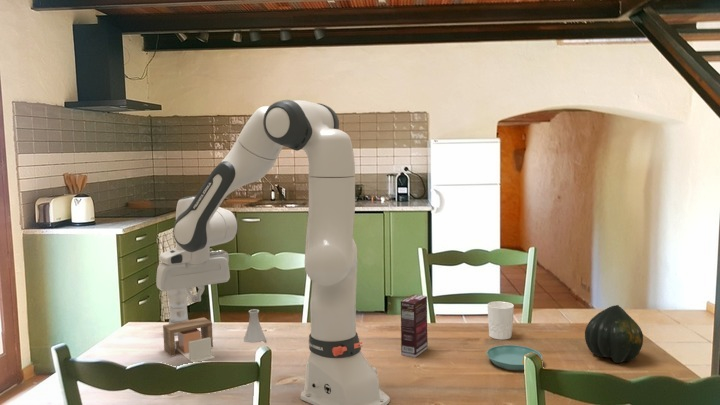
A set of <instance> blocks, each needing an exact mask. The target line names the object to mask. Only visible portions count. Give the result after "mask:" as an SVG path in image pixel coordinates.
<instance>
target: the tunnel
mask: <svg viewBox="0 0 720 405" xmlns="http://www.w3.org/2000/svg"><path fill="white" fill-rule="evenodd" d="M192 329H200V331H201V339H204V338H209V337H210V338H211V348H213V347H214V344H213V343H214V342H213V340H214V339H213V322H212V321H211V320H209V319H207V318H206V317H199V318H193V319H188V321H183V322H177V323H172V324H169V323H167V324H164V325H162V330H163V334H162V335H163V349H164V351H165V352H166V353H167V354H168V355H169V356H170V357H173V356H176V349H175V341H176V339H175V335H174V333H177V332H182V331H187V330H192Z"/></svg>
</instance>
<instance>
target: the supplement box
mask: <svg viewBox="0 0 720 405" xmlns="http://www.w3.org/2000/svg"><path fill="white" fill-rule="evenodd" d="M400 343H401V344H400V346H401V348H400V350H401V355H402V356H406V357H409V358H410V357H411V358H416V357H418V356H419V355H420V354H422V353H423V352H425V351H426V350H427V349H428V346H429V345H428V296H427V295H421V294H412V295H410V296H408V297H406V298H404V299H402V300H400Z"/></svg>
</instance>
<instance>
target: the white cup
mask: <svg viewBox="0 0 720 405" xmlns="http://www.w3.org/2000/svg"><path fill="white" fill-rule="evenodd" d="M514 310H515V306H514V304H513V303H511V302H507V301H500V300H499V301H498V300H497V301H490V302H487V323H488V335H489V337H490V338H492V339H495V340H510V339H511V338H512V335H513V325H514V324H513V323H514Z"/></svg>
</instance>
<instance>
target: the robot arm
mask: <svg viewBox="0 0 720 405" xmlns="http://www.w3.org/2000/svg"><path fill="white" fill-rule="evenodd" d="M246 121H247V122H246V123H245V124H244V126H243V128H242V130H241V131H240V133H239V135H238V136H237V139H236V141H235V142H234V144H233V146H232V147H231V148H230V150H229V152H228V153H227V154H226V156H225V157H224V158H223V159H222V160H221V161H220V162H219V163H217V165H216V167H214V169H213V170H212V172H211V173H210V174H209V176H208V177H207V178H206V180H205V181H204V183H203V184H202V185H201V187H200V189H199V190H198V193H197V194H196V195H191V196H190V195H189V196H184V197H181V198H180V199H178V201H177V204H176V210H175V221H174V224H173V229H172V234H173V235H172V236H173V238H174V240H175V242H176V246H175V247H173V248H171V249H168V250H166V251H164V252H162V253H160V254H158V255H159V256H158V258H159V261H160V263H159V264H158V266H157V269H156V270H157V271H156V279H155V280H156V281H155V282H156V287H157V289H158V290H160V291H161V292H167V291H170V290H177V289H184V290H185V292H186V293H187V295H188V296H187V297H188V302H189V303H190V304H193V303H199V302H201V301H202V295H203V293H204V291H205V289H206V288H205V286H209V285H217V284H222V283H228V282H229V280H230V279H231V273H230V266H229V262H230V258H229V257H230V256H229V253H228V251H225V250H224V249H219V250H210V249H211V248H210V247H215V246H219V245H223V244H227V243H229V242H231V241H233V240H234V239H235V237H237V234H238V230H239V223H238V219H237V217H236V214H234V212H232V210H230V209H227V208H223V207H221V205H222V202H223V201H224V200H225V199H226V198H227V197H228V196H229V195H230V194H231V193H233V192H234V191H236V190H238V189H240V188H241V187H244V186H246V185H249V184H251V183H255V182H257V181H259V180H261V179H263V178H264V177H265V176H266V175H267V174H268V173H269V172H270V171H271V169H272V168H273V167H274V165H275V163H276V161H277V159H278V157H279V155H280V153H281V151H282V149H283V148H284V147H286V148H288V149H291V150H294V151H295V152H296V151H301V150H303V151H304V152H305V154H306V156H307V160H308V214H307V224H306V231H305V232H306V236H305V251H304V269H305V270H304V271H305V273H306V275H307V277H308V279H310V280H311V283H312V284H311V292H310V293H311V295H310V300H309V301H310V302H309V306H310V312H309V313H310V334H308V335H309V336H308V338H309V339H308V350H309V351H310V354H309V357H308V359H307V361H306V363H305V371H304V372H305V373H304V374H305V375H304V388H303V389H304V390H303V391H302V392H300V400H302V401H304V402H306V403H308V404H310V405H388V404H389V403H390V401H391V398H390V396H389V395H388V394H387V393H385V392H384V391H383V390H382V389H380V381H379V377H378V371H377V368H376V367H375V366H372V365H371V364H370V362H368V360H367V359H366V357H365V356H364V354H363V353H362V351H361V350H362V347H363V345H362V344H363V341H361V342H360V338H359V335H358V332H357V319H356V317H357V309H356V307H357V306H356V305H357V304H356V303H357V302H356V301H357V300H356V299H357V279H358V247H357V243H356V242H355V239H354V222H355V212H356V166H355V164H356V163H355V153H354V147H353V143H352V140H351V137H350V135H349V134H348V133H347V132H345V131H343V130H341V129H340V120H339V117H338V115H337V113H336V112H335V110H333V109H332V108H331V107H330V106H328V105H326V104H324V103H318V102H317V103H315V102H312V101H308V100H304V99H303V100H302V99H301V100H299V99H295V100H293V99H292V100H291V99H283V100H278V101H276V102H274V103H272V104H271V105H263V106H261V107H258V108H257V109H256V110H255V111H254V113H252V114H251V116H250V117H249V118H248V120H246ZM195 287H196V289H198V290H197V292H196V294H192V293H191V292H192V291H193V288H195Z"/></svg>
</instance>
